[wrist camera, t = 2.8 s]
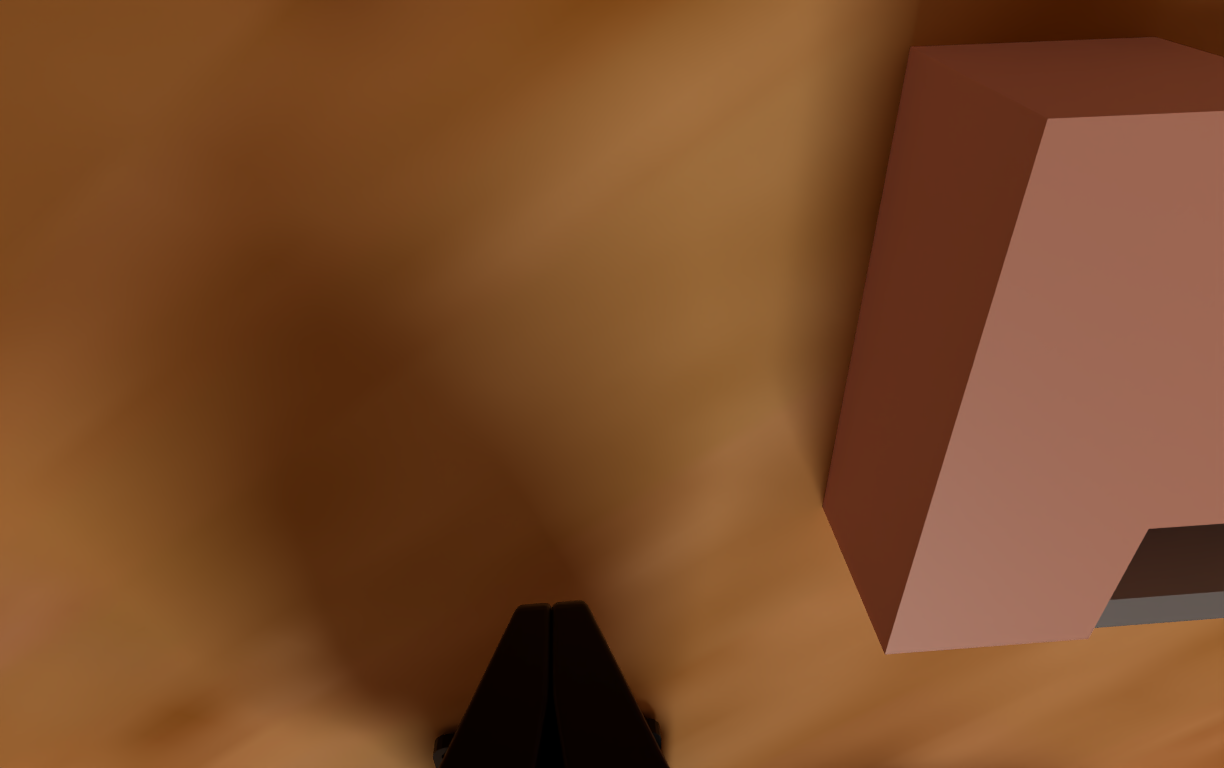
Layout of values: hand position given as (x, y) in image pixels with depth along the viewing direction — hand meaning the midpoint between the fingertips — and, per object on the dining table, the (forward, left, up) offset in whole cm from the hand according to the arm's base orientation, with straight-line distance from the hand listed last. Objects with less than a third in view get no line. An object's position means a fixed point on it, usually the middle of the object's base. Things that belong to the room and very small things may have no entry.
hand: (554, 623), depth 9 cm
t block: (+11, 0, -6) cm, 13 cm away
